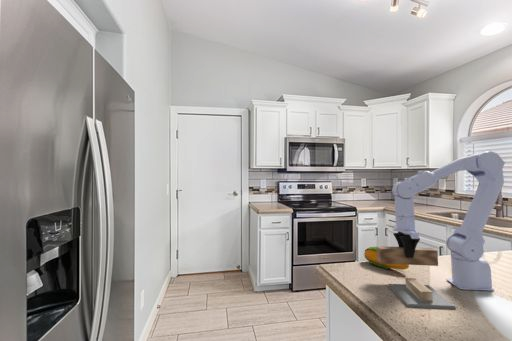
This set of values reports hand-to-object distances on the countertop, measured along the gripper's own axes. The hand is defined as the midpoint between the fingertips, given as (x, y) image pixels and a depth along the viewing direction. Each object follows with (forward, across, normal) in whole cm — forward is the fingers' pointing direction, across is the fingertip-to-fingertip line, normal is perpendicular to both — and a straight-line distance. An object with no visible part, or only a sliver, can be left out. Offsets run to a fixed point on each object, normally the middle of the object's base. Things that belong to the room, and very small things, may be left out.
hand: (407, 255), depth 86 cm
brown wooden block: (+2, 0, 0) cm, 3 cm away
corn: (+9, -15, -2) cm, 18 cm away
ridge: (+9, +11, -2) cm, 14 cm away
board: (+9, +11, -2) cm, 14 cm away
